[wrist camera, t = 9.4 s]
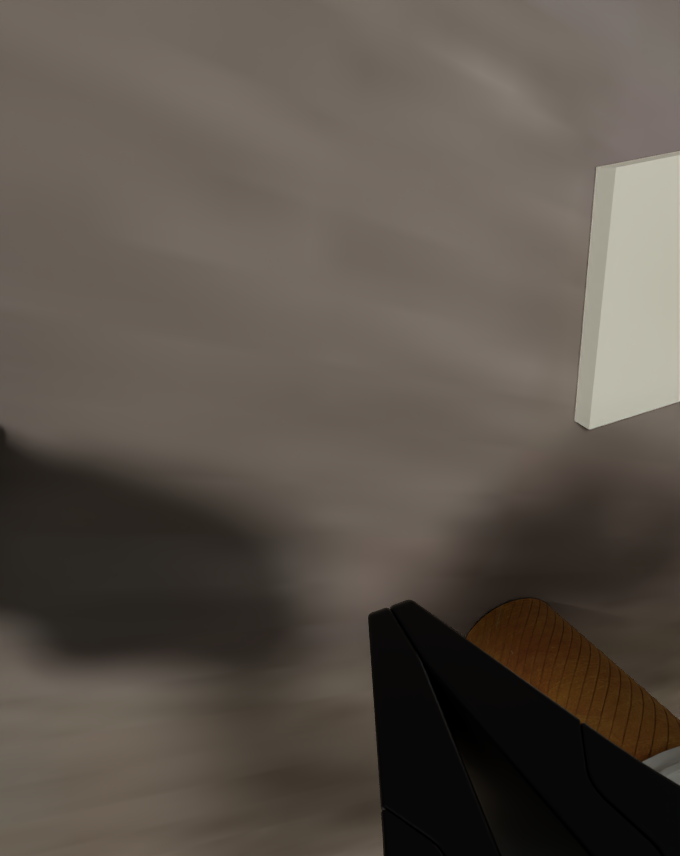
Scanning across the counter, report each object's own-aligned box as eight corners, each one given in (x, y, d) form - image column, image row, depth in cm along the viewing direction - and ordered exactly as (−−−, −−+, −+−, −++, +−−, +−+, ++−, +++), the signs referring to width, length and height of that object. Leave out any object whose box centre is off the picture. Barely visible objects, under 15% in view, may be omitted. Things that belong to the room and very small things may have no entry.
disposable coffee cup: (491, 560, 28) (685, 791, 18) (603, 589, 32) (812, 788, 22) (405, 690, 31) (531, 956, 20) (519, 701, 35) (671, 925, 25)
